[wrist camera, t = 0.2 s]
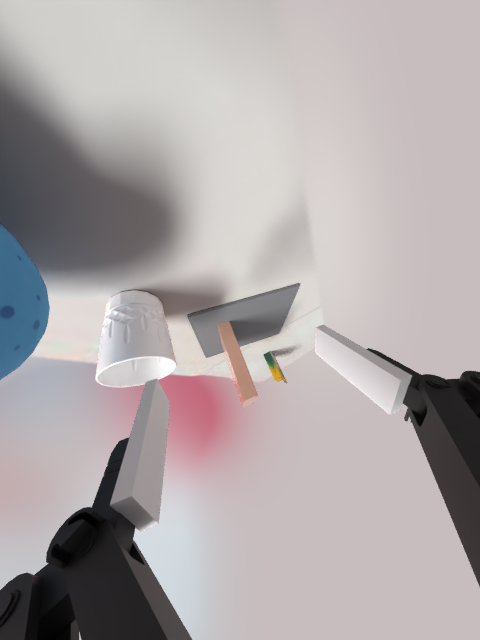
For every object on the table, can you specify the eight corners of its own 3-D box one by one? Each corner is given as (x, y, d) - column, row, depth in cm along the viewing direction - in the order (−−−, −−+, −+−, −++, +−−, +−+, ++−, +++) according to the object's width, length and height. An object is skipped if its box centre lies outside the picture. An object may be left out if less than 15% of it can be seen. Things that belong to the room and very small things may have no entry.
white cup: (159, 282, 23) (170, 349, 18) (170, 317, 29) (180, 373, 24) (87, 291, 20) (76, 372, 15) (117, 327, 27) (116, 392, 22)
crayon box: (262, 354, 64) (276, 385, 59) (270, 351, 64) (285, 381, 58) (267, 358, 71) (280, 386, 65) (274, 355, 70) (287, 383, 64)
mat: (187, 314, 30) (187, 317, 30) (298, 283, 34) (299, 285, 34) (205, 356, 47) (206, 358, 47) (278, 331, 51) (279, 333, 51)
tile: (217, 324, 35) (244, 400, 27) (229, 320, 35) (258, 395, 28) (221, 344, 43) (242, 407, 36) (231, 341, 44) (253, 403, 36)
